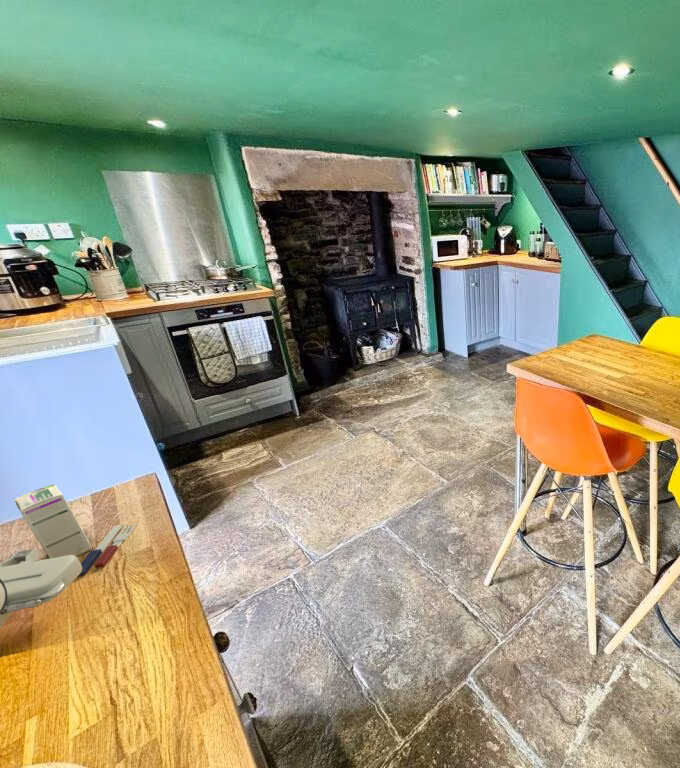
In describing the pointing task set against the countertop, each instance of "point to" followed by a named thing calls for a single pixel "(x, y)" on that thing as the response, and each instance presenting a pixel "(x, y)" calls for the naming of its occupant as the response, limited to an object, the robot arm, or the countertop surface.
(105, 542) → the knife
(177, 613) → the countertop surface
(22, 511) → the syrup box
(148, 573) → the countertop surface
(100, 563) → the fork
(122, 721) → the countertop surface
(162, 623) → the countertop surface
